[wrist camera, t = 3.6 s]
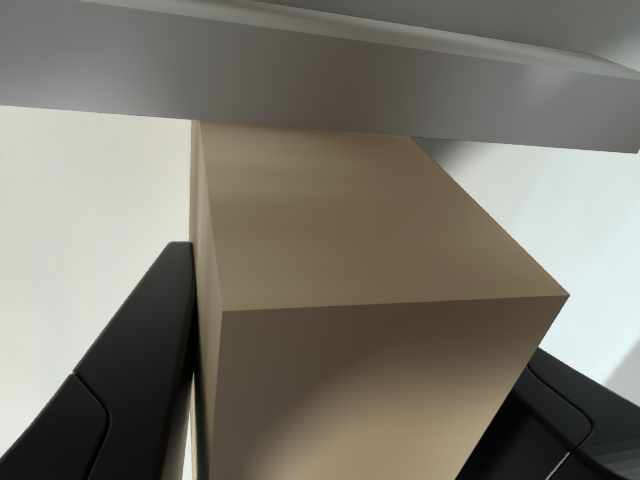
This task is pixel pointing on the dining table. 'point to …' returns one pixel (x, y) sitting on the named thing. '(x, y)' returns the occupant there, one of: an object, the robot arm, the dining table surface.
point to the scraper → (333, 215)
